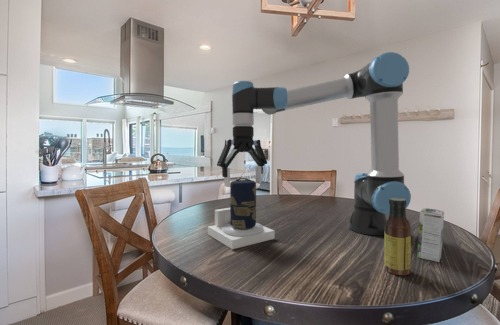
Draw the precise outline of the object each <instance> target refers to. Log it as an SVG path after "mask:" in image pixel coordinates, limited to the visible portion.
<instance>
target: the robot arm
mask: <svg viewBox="0 0 500 325" xmlns="http://www.w3.org/2000/svg"><path fill="white" fill-rule="evenodd" d="M409 74H410V65H409V62H408V60H407V59H406V58H405V57H404V56H403V55H401V54H399V53H398V52H393V51H387V52H383V53H381V54H379V55H378V56H375V57H374V58H373V59H372V60H371V61H370V62H369V63H368V64H366V65H365V66H363V67H362V68H360V69H358V70H357V71H355V72H352V73H346V74H345V75H344V76H343V77H341V78H337V79H332V80H328V81H323V82H319V83H315V84H311V85H305V86H302V87H297V88H292V89H287V88H286V87H279V86H276V87H270V86H269V87H255V86H254V83H253V82H251V80H238V81H235V82H234V83H233V84H232V94H231V100H232V104H231V105H232V125H233V127H232V137H233V139H229V138H227V139H225V141H224V147H223V149H222V151H221V153H220V155H219V158H218V161H217V163H216V166H217V167H220V168H221V170H222V173H221V175H222V178H223V179H224V184H223V186H224V187H225V188H230V183H231V168H230V167H229V166H230V165H231V163H232V162H233V160H234V159H235V157H237V155H238V154H239V153H247V154H249V155H250V158H252V159H253V161H254V162H255V163H256V165H255V182H256V184H259V185H260V184H262V181H263V180H262V179H263V178H262V175H263V174H264V167H265V166H266V165H267V164H268V160H267V158H266V155H265V153H264V150H263V148H262V145H261V144H262V143H261V140H260V139H254V130H255V129H254V128H255V127H254V122H255V121H254V119H255V118H254V117H255V116H254V110H262V112H263V113H264V114H267V115H275V114H276V113H280V112H284V111H285V112H286V111H288V110H293V109H298V108H302V107H306V106H307V107H308V106H311V105H316V104H321V103H325V102H329V101H336V100H340V99H344V98H345V99H348V100H351V99H357V98H364V97H365V99H366V101H368V103H369V112H370V116H369V117H370V155H371V156H370V157H371V158H370V160H371V161H370V162H371V164H370V166H371V167H370V168H371V170H370V171H369V172H368V173H365V172H364V173H362V172H361V173H356V174H355V176H354V181H353V183H354V186H353V187H354V188H353V189H354V190H353V191H354V195H353V210H352V212H351V216H350V218H349V220H348V229H350V230H351V231H353V232H354V233H355V232H356V233H358V234H362V235H369V236H383V235H384V236H385V233H384V232H385V225H386V222H387V220H388V216H389V212H390V204H389V199H390V198H403V199H406V203H407V204H406V206H405V210H406V209H407V208H408V207H409V205H410V203H411V200H412V199H411V198H412V195H411V194H412V193H411V191H410V188H408V186H406V184H405V174H404V173H403V172H402V171H401V170H400V168H399V163H400V162H399V161H400V160H399V159H400V158H399V152H400V151H399V108H398V107H399V103H398V102H399V101H398V100H399V98H400V97H401V96H402V95H403V94H404V84H403V83H405V81H406V80H407V78H408V77H409ZM232 146H233V147H232ZM231 147H232V149H231ZM230 150H231V151H230ZM387 215H388V216H387Z"/></svg>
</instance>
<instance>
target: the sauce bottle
mask: <svg viewBox="0 0 500 325" xmlns="http://www.w3.org/2000/svg"><path fill="white" fill-rule="evenodd" d="M389 204H390V212H389V215H388V217H387V222H386V225H385V232H384V233H385V235H384V249H383V250H384V256H383V258H384V259H383V260H384V262H383V264H384V265H385V266H384V268H385V270H386V271H387V272H389V274H390V273H391V274H392V275H395V276H408V275H410V273H411V268H412V267H411V266H412V264H411V263H412V261H411V260H412V258H411V257H412V253H411V252H412V249H411V247H412V234H411V224H410V221H409V220H408V219H407V217H406V216H407V214H406V209H405V206H406V204H407V203H406V199H403V198H390V199H389Z"/></svg>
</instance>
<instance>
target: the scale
mask: <svg viewBox="0 0 500 325" xmlns="http://www.w3.org/2000/svg"><path fill="white" fill-rule="evenodd" d="M230 222H231V214H230V207H225V208H220V209H219V208H218V209H214V225H209V226H207V235H208V236H210V237H211V238H213V239H215V240H216V241H218V242H219V243H221V244H223V245H225V247H228V248H229V249H231V250H235V249H239V248H243V247H247V246H251V245H256V244H259V243H262V242H267V241H270V240H275V239H276V238H275V234H276V233H275V232H276V231H275V229H272V228H270V227H267V226H264V225H262V224H261V223H258V222H256V225H255V226H254V227H252V228H248V229H238V228H234V227H232V226H231V223H230Z"/></svg>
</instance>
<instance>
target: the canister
mask: <svg viewBox="0 0 500 325" xmlns="http://www.w3.org/2000/svg"><path fill="white" fill-rule="evenodd" d="M229 189H230V202H229V205H230V206H229V208H230V214H231V222H230V223H231V226H232V227H234V228H238V229H248V228H252V227H254V226H255V225H256V223H257V183H256V180H252V179H250V178H249V179H248V178H245V177H242V178H238V179H235V180H232V181H230V187H229Z"/></svg>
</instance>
